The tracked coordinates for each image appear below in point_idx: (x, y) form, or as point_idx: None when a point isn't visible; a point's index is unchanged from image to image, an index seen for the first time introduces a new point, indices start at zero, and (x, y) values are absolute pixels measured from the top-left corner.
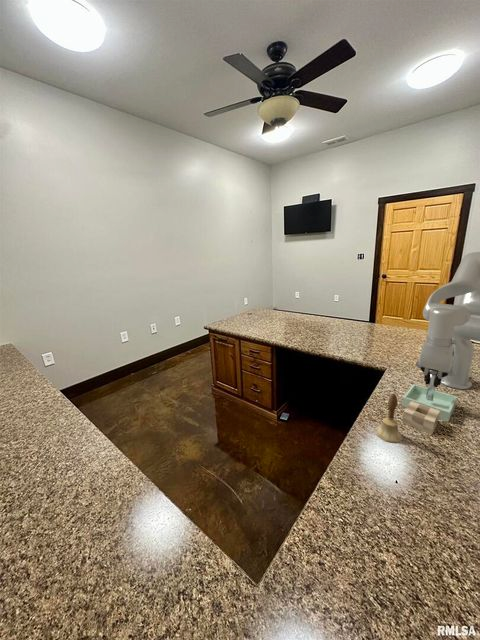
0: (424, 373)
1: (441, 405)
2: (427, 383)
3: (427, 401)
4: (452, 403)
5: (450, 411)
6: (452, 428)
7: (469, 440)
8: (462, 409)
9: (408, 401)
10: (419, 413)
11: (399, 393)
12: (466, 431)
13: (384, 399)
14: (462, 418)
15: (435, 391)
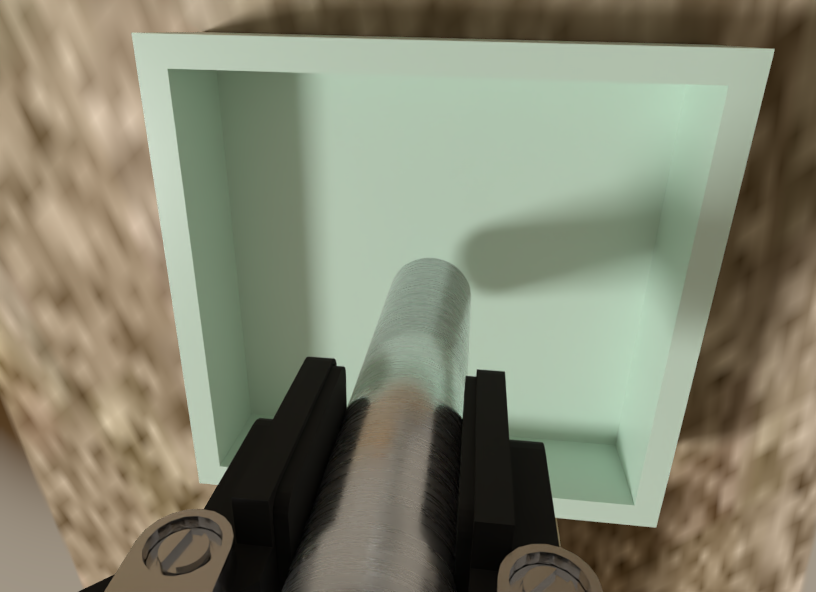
0: None
1: (559, 231)
2: None
3: (413, 232)
4: (690, 315)
5: (662, 501)
6: (660, 511)
7: (770, 587)
8: (784, 95)
9: None
10: None
11: (116, 179)
12: (765, 494)
13: (85, 395)
14: (758, 308)
15: (460, 76)
